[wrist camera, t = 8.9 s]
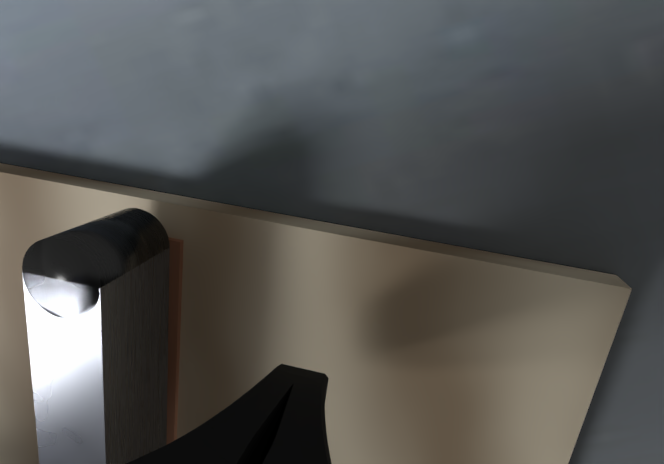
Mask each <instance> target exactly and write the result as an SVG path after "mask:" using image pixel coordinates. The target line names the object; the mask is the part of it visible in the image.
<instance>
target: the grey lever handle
mask: <svg viewBox="0 0 664 464" xmlns="http://www.w3.org/2000/svg"><path fill="white" fill-rule="evenodd" d="M169 260H170V243H169V238H168V235H167V232H166V230H165V228H164V227H163V225H162V224H161V222H160V221H159V220H158V219H157V218H156V217H155V216H153V215H152V214H151V213H149V212H147V211H145V210H142V209H138V208H127V209H124V210H121V211H118V212H115V213H113V214H110V215H107V216H104V217H102V218H99V219H96V220H93V221H91V222H88V223H85V224H83V225H80V226H77V227H74V228H72V229H69V230H66V231H63V232H61V233H58V234H55V235H53V236H50V237H47V238H44V239H42V240H39V241H37V242H35V243H34V244H32V245H31V246H30V247H29V248H28V250H27V251H26V253H25V255H24V258H23V263H22V275H23V286H24V298H25V309H26V320H27V331H28V342H29V353H30V364H31V376H32V387H33V398H34V409H35V420H36V431H37V443H38V454H39V464H126V463H128V462H131V461H133V460H135V459H137V458H139V457H142V456H144V455H146V454H148V453H150V452H152V451H154V450H157V449H159V448H161V447H163V446H165V445H166V440H167V380H168V320H169Z"/></svg>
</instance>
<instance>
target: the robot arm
mask: <svg viewBox="0 0 664 464" xmlns="http://www.w3.org/2000/svg"><path fill="white" fill-rule="evenodd" d="M328 380H329V378H328V377H327V375H326V374H324V373H320V372H315V371H311V370H307V369H302V368H298V367H294V366H289V365H285V364H280V365H278V366H277V367H276V368H275V369H273V370H272V371H271V372H270V373H269V374H268V375H267V376H265V377H264V378H263V379H262V380H261V381H260V382H258V383H257V384H256V385H255V386H254V387H252V388H251V389H250V390H249V391H247V392H246V393H245V394H243V395H242V396H241V397H240V398H238V399H237V400H236V401H234V402H233V403H232V404H231V405H229V406H228V407H226V408H225V409H224V410H222V411H221V412H219V413H218V414H216V415H215V416H213V417H212V418H210V419H209V420H208V421H206V422H205V423H203V424H201V425H200V426H198V427H197V428H195V429H193V430H192V431H190V432H188V433H187V434H185V435H183V436H182V437H180V438H178V439H176V440H174V441H173V442H171V443H169V444H167V445H165V446H163V447H161V448H159V449H157V450H154V451H152V452H150V453H148V454H146V455H144V456H142V457H139V458H137V459H135V460H133V461H131V462H128V463H126V464H332V463H331V458H330V453H329V447H328V440H327V433H326V421H325V400H326V393H327V386H328Z"/></svg>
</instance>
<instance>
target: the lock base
mask: <svg viewBox="0 0 664 464" xmlns="http://www.w3.org/2000/svg"><path fill="white" fill-rule="evenodd" d="M127 208H138V209H142V210H145V211H147V212H149V213H151V214H152V215H153V216H155V217H156V218H157V219H158V220H159V221H160V222H161V224H162V225H163V227H164V228H165V230H166V232H167V235H168V238H169V243H170V260H169V320H168V380H167V440H166V445H167V444H169V443H171V442H173V441H174V440H176V439H178V438H180V437H182V436H183V435H185V434H187V433H188V432H190V431H192V430H193V429H195V428H197V427H198V426H200V425H201V424H203V423H205V422H206V421H208V420H209V419H210V418H212V417H213V416H215V415H216V414H218V413H219V412H221V411H222V410H224V409H225V408H226V407H228V406H229V405H231V404H232V403H233V402H234V401H236V400H237V399H238V398H240V397H241V396H242V395H243V394H245V393H246V392H247V391H249V390H250V389H251V388H252V387H254V386H255V385H256V384H257V383H258V382H260V381H261V380H262V379H263V378H264V377H265V376H267V375H268V374H269V373H270V372H271V371H272V370H273V369H275V368H276V367H277V366H278V365H280V364H285V365H289V366H294V367H298V368H302V369H307V370H311V371H315V372H320V373H324V374H326V375H327V377H328V378H329V380H328V386H327V393H326V400H325V421H326V433H327V440H328V447H329V453H330V458H331V463H332V464H568V463H569V460H570V457H571V455H572V452H573V449H574V446H575V444H576V441H577V438H578V435H579V433H580V430H581V427H582V425H583V422H584V419H585V416H586V414H587V411H588V408H589V405H590V403H591V400H592V397H593V394H594V392H595V389H596V386H597V383H598V381H599V378H600V375H601V372H602V370H603V367H604V364H605V362H606V359H607V356H608V353H609V351H610V348H611V345H612V342H613V340H614V337H615V334H616V331H617V329H618V326H619V323H620V320H621V318H622V315H623V312H624V310H625V307H626V304H627V301H628V299H629V296H630V293H631V290H632V288H630V287H629V286H628V285H627V284H626V283H625V282H624V281H623V280H621V279H620V278H619V277H618V276H617V275H613V274H608V273H602V272H597V271H591V270H586V269H580V268H575V267H569V266H564V265H558V264H553V263H547V262H542V261H536V260H531V259H525V258H520V257H514V256H509V255H503V254H498V253H492V252H487V251H481V250H476V249H470V248H465V247H459V246H454V245H448V244H443V243H437V242H432V241H426V240H421V239H415V238H410V237H404V236H399V235H393V234H388V233H382V232H377V231H372V230H366V229H361V228H355V227H350V226H344V225H339V224H333V223H328V222H322V221H317V220H311V219H306V218H300V217H295V216H289V215H284V214H278V213H273V212H267V211H262V210H256V209H251V208H245V207H240V206H234V205H229V204H223V203H218V202H212V201H207V200H201V199H196V198H190V197H185V196H179V195H174V194H168V193H163V192H157V191H152V190H146V189H141V188H135V187H130V186H124V185H119V184H113V183H108V182H102V181H97V180H91V179H86V178H80V177H75V176H69V175H64V174H58V173H53V172H47V171H42V170H36V169H31V168H25V167H20V166H14V165H9V164H3V163H0V464H39V454H38V443H37V431H36V420H35V409H34V398H33V387H32V376H31V364H30V353H29V342H28V331H27V320H26V309H25V298H24V286H23V275H22V263H23V258H24V255H25V253H26V251H27V250H28V248H29V247H30V246H31V245H32V244H34V243H35V242H37V241H39V240H42V239H44V238H47V237H50V236H53V235H55V234H58V233H61V232H63V231H66V230H69V229H72V228H74V227H77V226H80V225H83V224H85V223H88V222H91V221H93V220H96V219H99V218H102V217H104V216H107V215H110V214H113V213H115V212H118V211H121V210H124V209H127Z"/></svg>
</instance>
